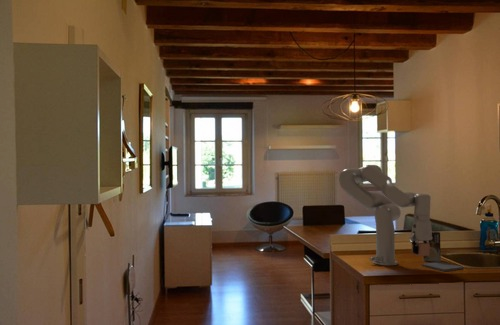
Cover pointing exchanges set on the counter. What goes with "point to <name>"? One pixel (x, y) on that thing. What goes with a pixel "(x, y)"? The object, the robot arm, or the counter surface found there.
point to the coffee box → (434, 248)
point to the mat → (442, 266)
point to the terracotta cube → (422, 249)
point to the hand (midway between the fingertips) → (420, 252)
